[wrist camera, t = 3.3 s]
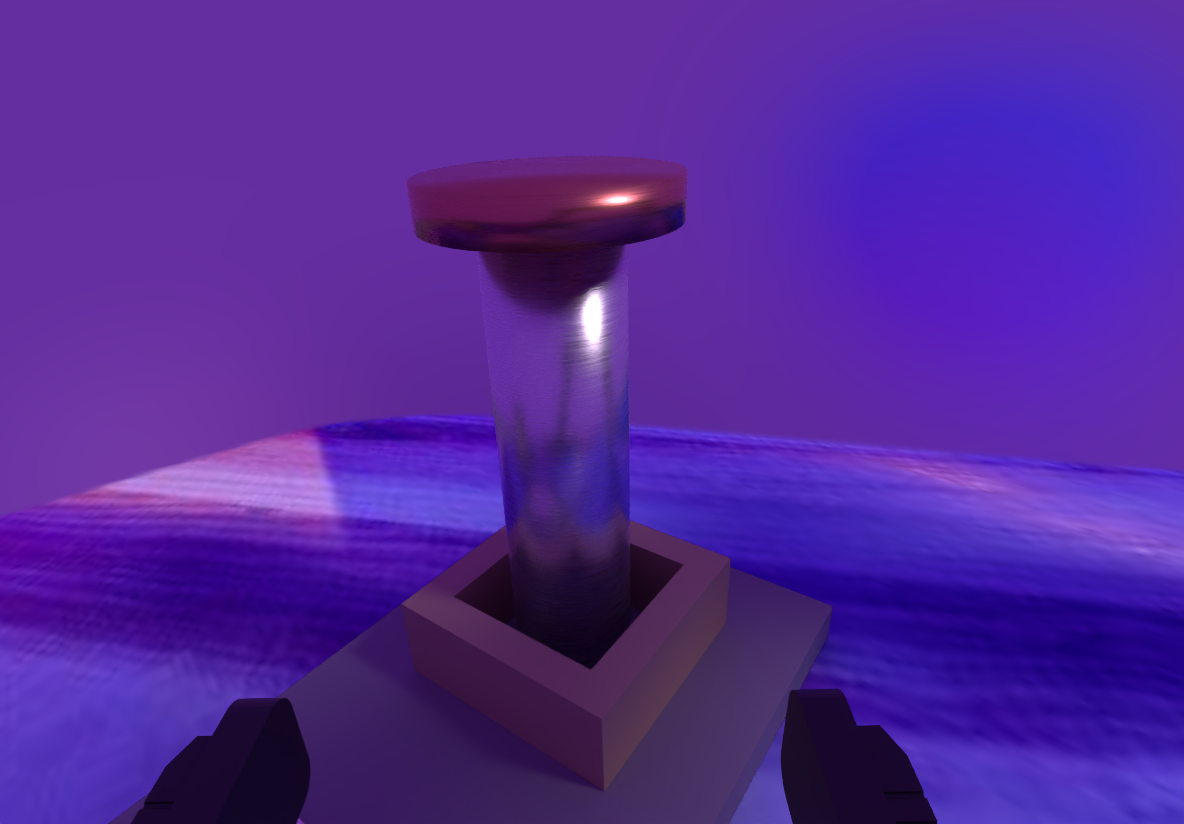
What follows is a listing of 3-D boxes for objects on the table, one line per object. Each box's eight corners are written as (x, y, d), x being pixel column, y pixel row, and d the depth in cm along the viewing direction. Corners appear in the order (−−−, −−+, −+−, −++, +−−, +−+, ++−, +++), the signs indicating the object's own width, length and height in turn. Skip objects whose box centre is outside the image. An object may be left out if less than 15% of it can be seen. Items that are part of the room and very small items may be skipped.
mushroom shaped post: (558, 559, 29) (530, 152, 22) (707, 625, 25) (734, 161, 18) (435, 666, 24) (346, 183, 17) (600, 769, 20) (577, 205, 13)
